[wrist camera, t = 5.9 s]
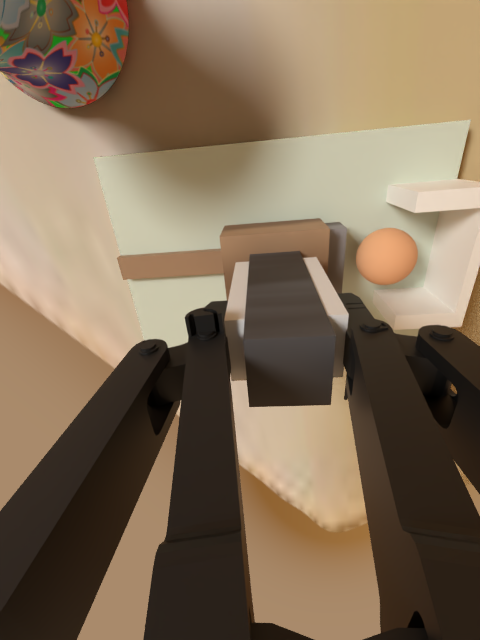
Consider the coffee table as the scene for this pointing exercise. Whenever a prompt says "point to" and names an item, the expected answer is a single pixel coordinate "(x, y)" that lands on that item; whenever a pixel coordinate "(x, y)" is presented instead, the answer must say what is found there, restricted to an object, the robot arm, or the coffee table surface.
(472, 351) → the robot arm
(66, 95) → the mug
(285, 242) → the kicker
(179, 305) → the pitch
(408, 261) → the ball
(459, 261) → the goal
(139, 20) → the coffee table surface
